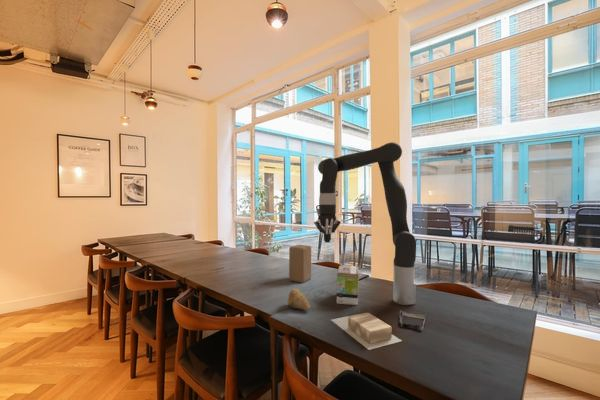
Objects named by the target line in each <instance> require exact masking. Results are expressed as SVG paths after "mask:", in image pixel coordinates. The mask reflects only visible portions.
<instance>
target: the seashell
mask: <svg viewBox="0 0 600 400" xmlns="http://www.w3.org/2000/svg"><path fill="white" fill-rule="evenodd" d="M287 305H288V306H289V307H291V308H292V309H299V310H305V311H309V310H310V309H311V305H310V303H309V301H308V299H307V297H306V294H305V293H303V292H302V291H301V290H300V289H298V288H292V289H291V290H290V291H289V294H288V299H287Z"/></svg>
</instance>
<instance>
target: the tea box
mask: <svg viewBox="0 0 600 400" xmlns="http://www.w3.org/2000/svg"><path fill="white" fill-rule="evenodd" d="M359 270H360V269H359V266H354V265H353V266H352V265H339V266H338V268H337V273H336V275H337V277H336V304H337V305H338V304H341V305H342V304H343V305H356V306H357V305H359V283H360V281H359V280H360V279H359V278H360V276H359V275H360V273H359Z"/></svg>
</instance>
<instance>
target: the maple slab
mask: <svg viewBox="0 0 600 400" xmlns="http://www.w3.org/2000/svg"><path fill="white" fill-rule="evenodd" d="M347 316H348V315H347ZM348 327H349V328H350V329H351V330H353V331H354V332H355V333H357V334H358V335H359V336H361V337H362V338H363V339H365V340H366V341H367V342H369V343H370V344H371V343H375V342H379V341H383V340H387V339H391V338H392V335H393V334H392V332H393V331H392V329H393V328H392V327H393V326H391V325H390V324H387V323H386V322H384V321H383V320H381V319H379V318H378V317H376V316H375V315H373V314H371V313H370V312H364V313H358V315H357V314H353V316H352V315H349V316H348Z"/></svg>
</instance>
